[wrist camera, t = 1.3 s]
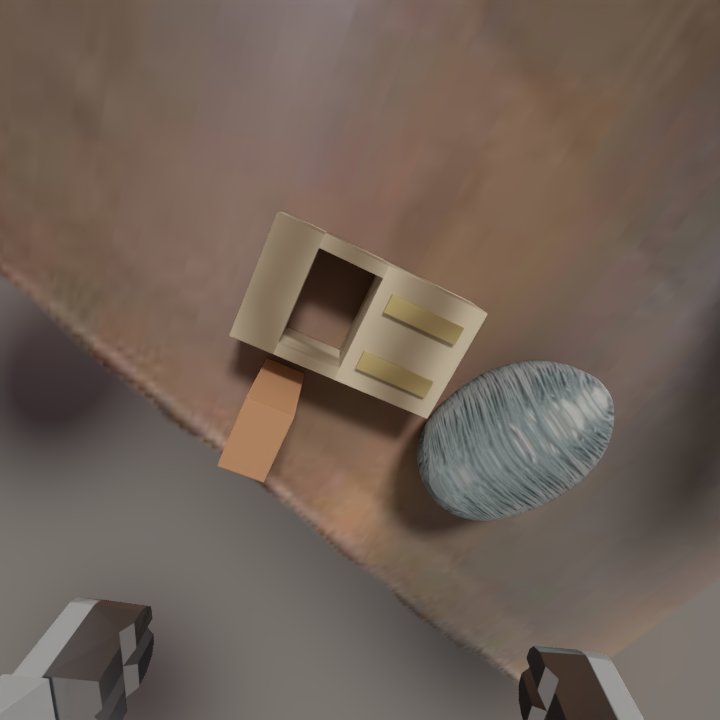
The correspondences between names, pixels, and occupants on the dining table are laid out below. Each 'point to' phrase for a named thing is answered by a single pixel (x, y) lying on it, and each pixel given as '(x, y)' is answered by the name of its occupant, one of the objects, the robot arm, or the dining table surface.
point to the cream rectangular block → (360, 320)
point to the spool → (514, 439)
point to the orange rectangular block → (263, 421)
